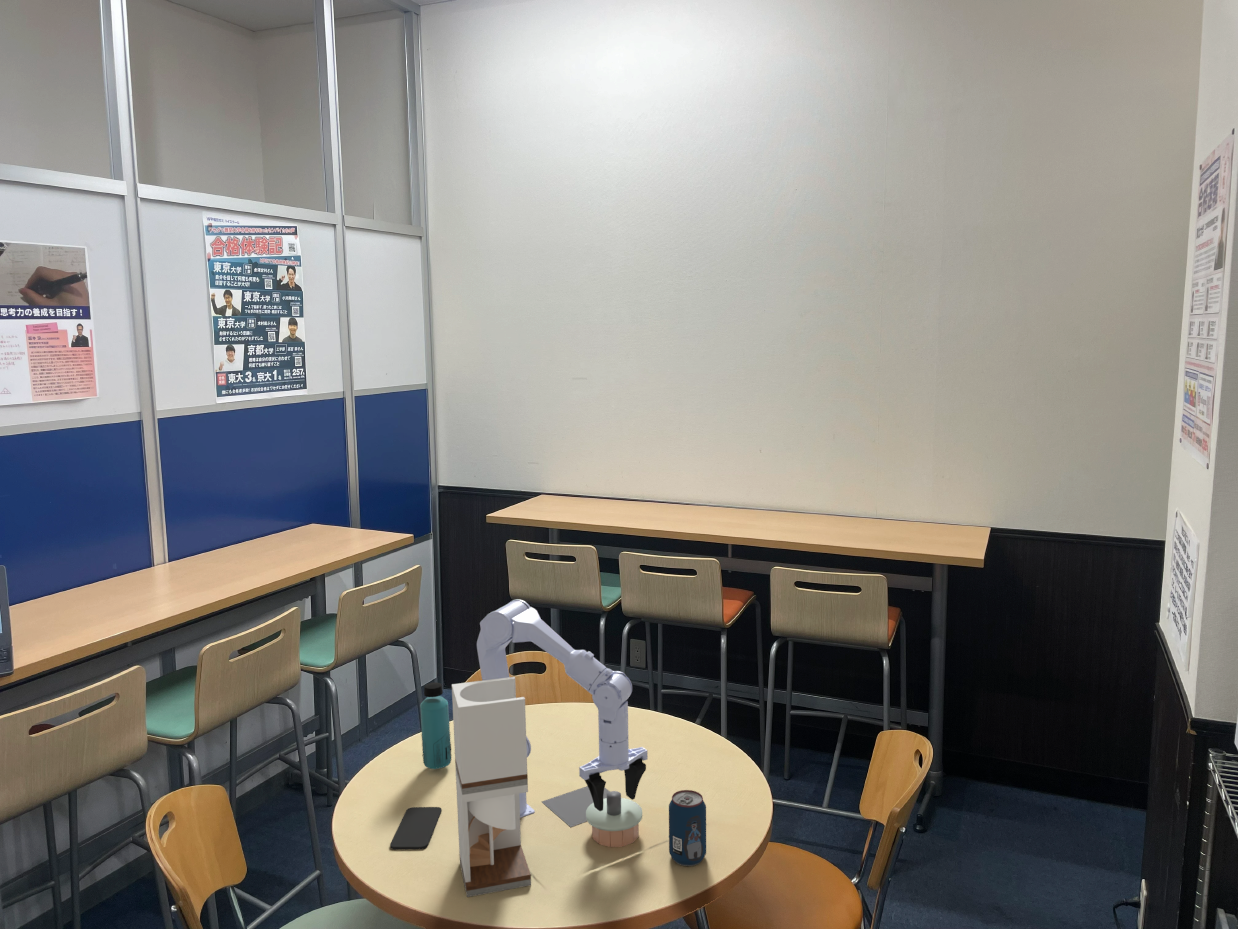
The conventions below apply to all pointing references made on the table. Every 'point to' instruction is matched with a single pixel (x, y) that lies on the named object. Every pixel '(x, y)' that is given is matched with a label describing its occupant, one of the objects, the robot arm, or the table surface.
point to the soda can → (687, 828)
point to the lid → (614, 813)
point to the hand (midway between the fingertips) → (614, 803)
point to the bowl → (615, 836)
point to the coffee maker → (490, 784)
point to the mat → (572, 805)
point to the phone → (416, 828)
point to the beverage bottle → (435, 728)
